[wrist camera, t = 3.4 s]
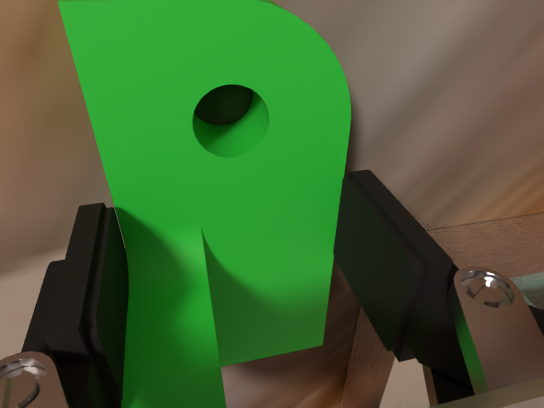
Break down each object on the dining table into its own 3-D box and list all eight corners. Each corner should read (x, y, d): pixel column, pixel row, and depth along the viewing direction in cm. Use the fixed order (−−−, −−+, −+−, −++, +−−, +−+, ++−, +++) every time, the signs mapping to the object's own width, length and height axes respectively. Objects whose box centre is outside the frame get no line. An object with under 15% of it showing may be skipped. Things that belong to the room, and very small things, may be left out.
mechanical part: (306, 305, 17) (399, 539, 10) (162, 333, 15) (164, 615, 9) (332, -17, 10) (665, 79, 3) (76, -11, 9) (-160, 152, 2)
